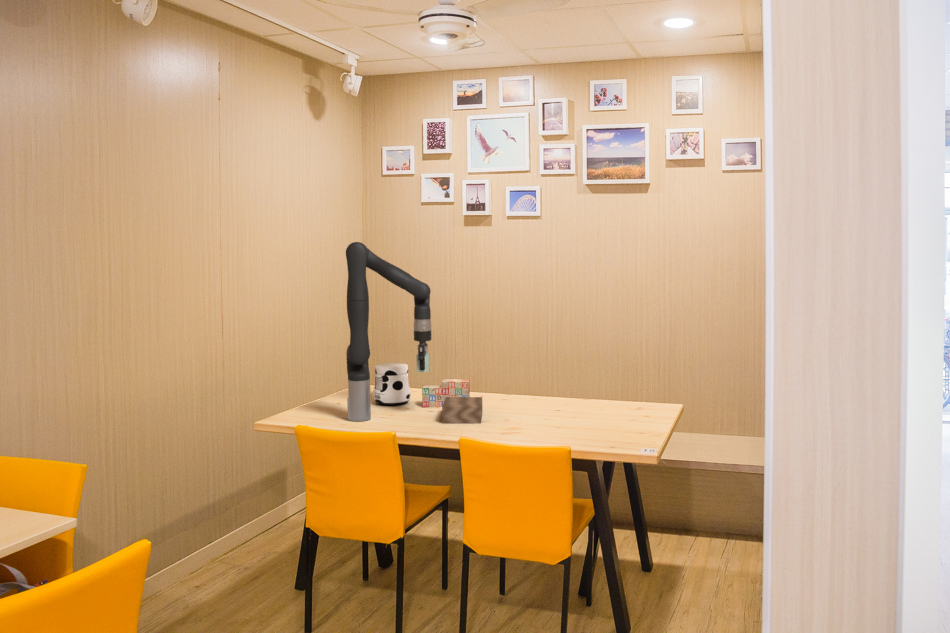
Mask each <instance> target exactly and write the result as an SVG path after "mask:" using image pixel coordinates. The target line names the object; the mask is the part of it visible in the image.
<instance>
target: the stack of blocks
mask: <svg viewBox="0 0 950 633" xmlns="http://www.w3.org/2000/svg"><path fill="white" fill-rule="evenodd" d="M470 385H471V384H470V379H463V378H462V379H461V378H455V379H454V378H453V379H450V378H449V379H448V378H447V379H442V380H441V385H423V387H422V388H421V390H422V391H421V395H422V396H421V397H422V398H421V399H422V400H421V401H422V408H423V407H424V408H425V407H442V406H443V404H444V401H445V398H446V397H471V396H470V395H471V394H470V391H471V390H470V388H471V387H470Z"/></svg>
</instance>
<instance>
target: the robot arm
mask: <svg viewBox="0 0 950 633" xmlns="http://www.w3.org/2000/svg"><path fill="white" fill-rule="evenodd" d="M345 256H346V257H345V258H346V264H347V286H346V313H347V319H348V320H347V321H348V326H349V330H350V331H349V332H350V334H349V335H350V337H349V345H347V348H346V372H347V373H346V374H347V386H348V387H347V388H348V390H347V391H348V397H347V399H346V400H347V402H346V403H347V404H346V405H347V421H351V422H364V421H365V422H366V421H369V420H371V419H372V411H371V410H372V408H371V407H372V406H371V376H370V375H371V373H370V368H369V367H370V366H369V359H370V356H371V350H370V342H369V317H370V316H369V315H370V313H369V312H370V301H369V300H370V299H369V298H370V297H369V287H368V281H367V268H368V269H370V270H371V271H373V272H375V273H376V274H378V275H379V276H381V277H383V278H384V279H386V281H388V282H390V283H391V284H392V285H394V286H397V287H398V288H400V289H402V290H405V291H406V292H407V293H409V294H410V295H412V296H413V301H414V307H413V341H415V342H418V343H419V344H418V345H417V354H418V360H419V361H420V370H425V356H426V354H429V353H428V347H429V345H428V342H431V341H432V321H431V317H432V315H431V312H432V311H431V306H430V301H431V287H430V285H428V284H427V283H426V282H423V281H421V280H419V279H417V278H415V277H414V276H412V275H411V274H410V273H408V272H407V271H405V270H403V269H402V268H400V267H398V266H396V265H394V264H392V263H390V262H388V261H387V260H385V259H383V258H381V257H380V256H378V255H377V254H375V253H374V252H373V251H372V250H370V249H369V248H368V247H367V246H366V245H365V244H364V243H362V242H359V241H354V242H351V243H350V244H348V246H346V249H345ZM420 356H423V358H420Z"/></svg>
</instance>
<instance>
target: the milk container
mask: <svg viewBox="0 0 950 633" xmlns="http://www.w3.org/2000/svg"><path fill="white" fill-rule="evenodd" d="M374 368H375V369H374V372H375V373H374V379H375V380H374V382H375V384H374V389H373V399H374V401H375V403H377V404H380V405H383V406H394V405H395V406H397V405H402V404H405V403H408V402H409V401H410V399H411V395H412V394H411V393H412V392H411V391H412V390H411V388H410V384H409V383H410V382H409V366H408V364H407V363H402V362H389V363H387V362H385V363H379V364H376V365H375V367H374Z"/></svg>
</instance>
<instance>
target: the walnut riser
mask: <svg viewBox="0 0 950 633" xmlns="http://www.w3.org/2000/svg"><path fill="white" fill-rule="evenodd" d="M441 411H442V413H441V414H442V415H441V416H442V418H441V419H442V424H482V419H483V418H482V417H483V397H482V396H474V397H473V396H470V397H446V398H445V401H444V404H443V406H442V408H441Z"/></svg>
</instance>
